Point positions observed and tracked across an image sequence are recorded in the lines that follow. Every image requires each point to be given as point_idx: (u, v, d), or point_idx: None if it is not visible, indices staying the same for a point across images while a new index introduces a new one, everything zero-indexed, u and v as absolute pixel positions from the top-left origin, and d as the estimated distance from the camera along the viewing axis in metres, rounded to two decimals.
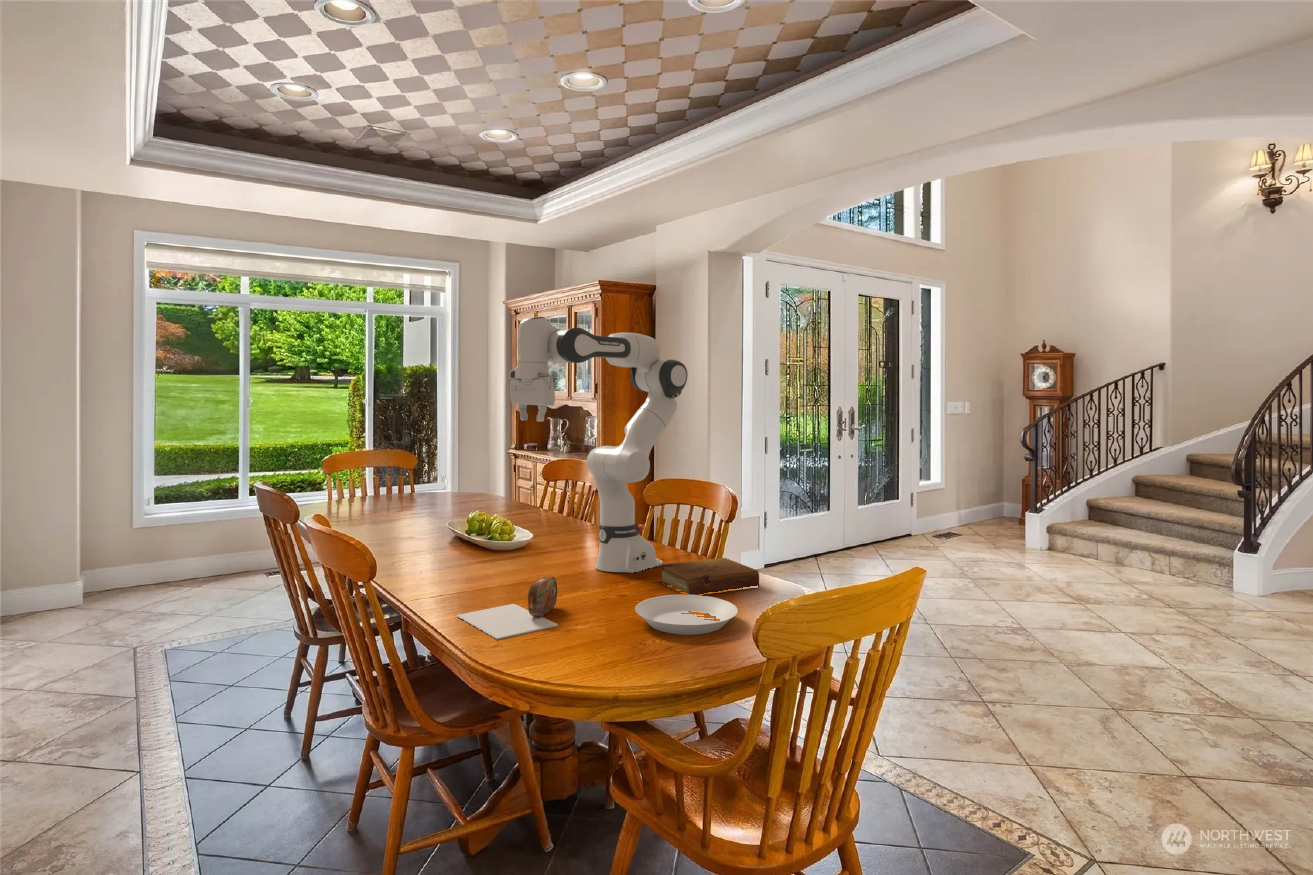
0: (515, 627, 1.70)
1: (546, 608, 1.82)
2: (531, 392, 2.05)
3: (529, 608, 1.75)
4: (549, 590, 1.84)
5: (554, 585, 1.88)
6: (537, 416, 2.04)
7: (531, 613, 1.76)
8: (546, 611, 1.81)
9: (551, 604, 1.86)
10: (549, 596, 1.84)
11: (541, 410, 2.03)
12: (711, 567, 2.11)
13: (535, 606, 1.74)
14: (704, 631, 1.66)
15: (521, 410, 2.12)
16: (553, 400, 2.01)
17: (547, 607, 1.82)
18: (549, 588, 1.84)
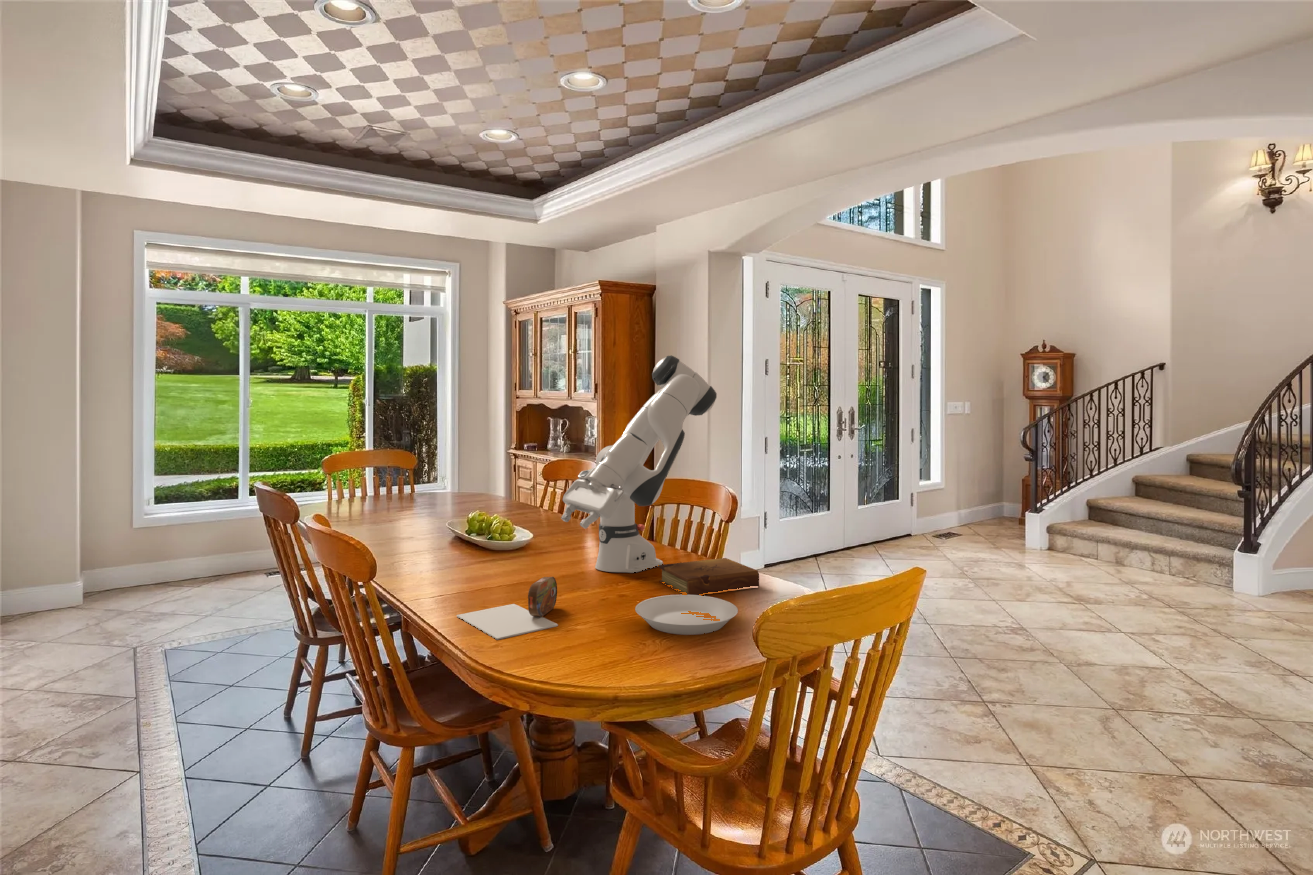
0: (515, 627, 1.70)
1: (546, 608, 1.82)
2: (593, 496, 1.87)
3: (529, 608, 1.75)
4: (549, 590, 1.84)
5: (554, 585, 1.88)
6: (583, 520, 1.84)
7: (531, 613, 1.76)
8: (546, 611, 1.81)
9: (551, 604, 1.86)
10: (549, 596, 1.84)
11: (592, 516, 1.83)
12: (711, 567, 2.11)
13: (535, 606, 1.74)
14: (704, 631, 1.66)
15: (567, 510, 1.92)
16: (610, 514, 1.82)
17: (547, 607, 1.82)
18: (549, 588, 1.84)
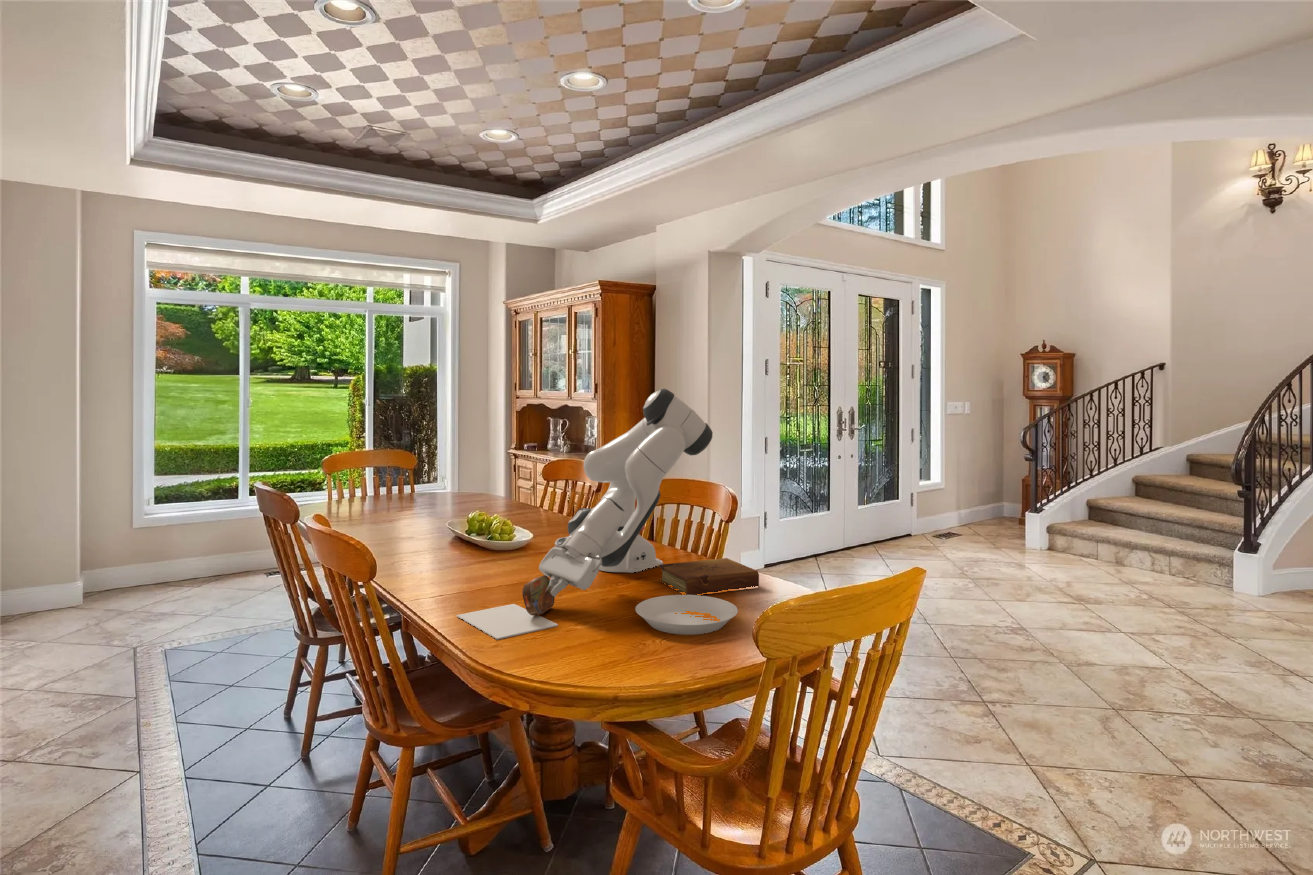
0: (515, 627, 1.70)
1: (545, 606, 1.82)
2: (570, 565, 1.83)
3: (526, 607, 1.75)
4: (544, 588, 1.85)
5: None
6: (552, 588, 1.82)
7: (530, 612, 1.76)
8: (545, 609, 1.81)
9: (550, 602, 1.86)
10: (545, 594, 1.84)
11: (560, 584, 1.82)
12: (711, 567, 2.11)
13: (532, 604, 1.75)
14: (704, 631, 1.66)
15: (552, 582, 1.84)
16: (588, 585, 1.78)
17: (545, 605, 1.82)
18: (544, 587, 1.85)
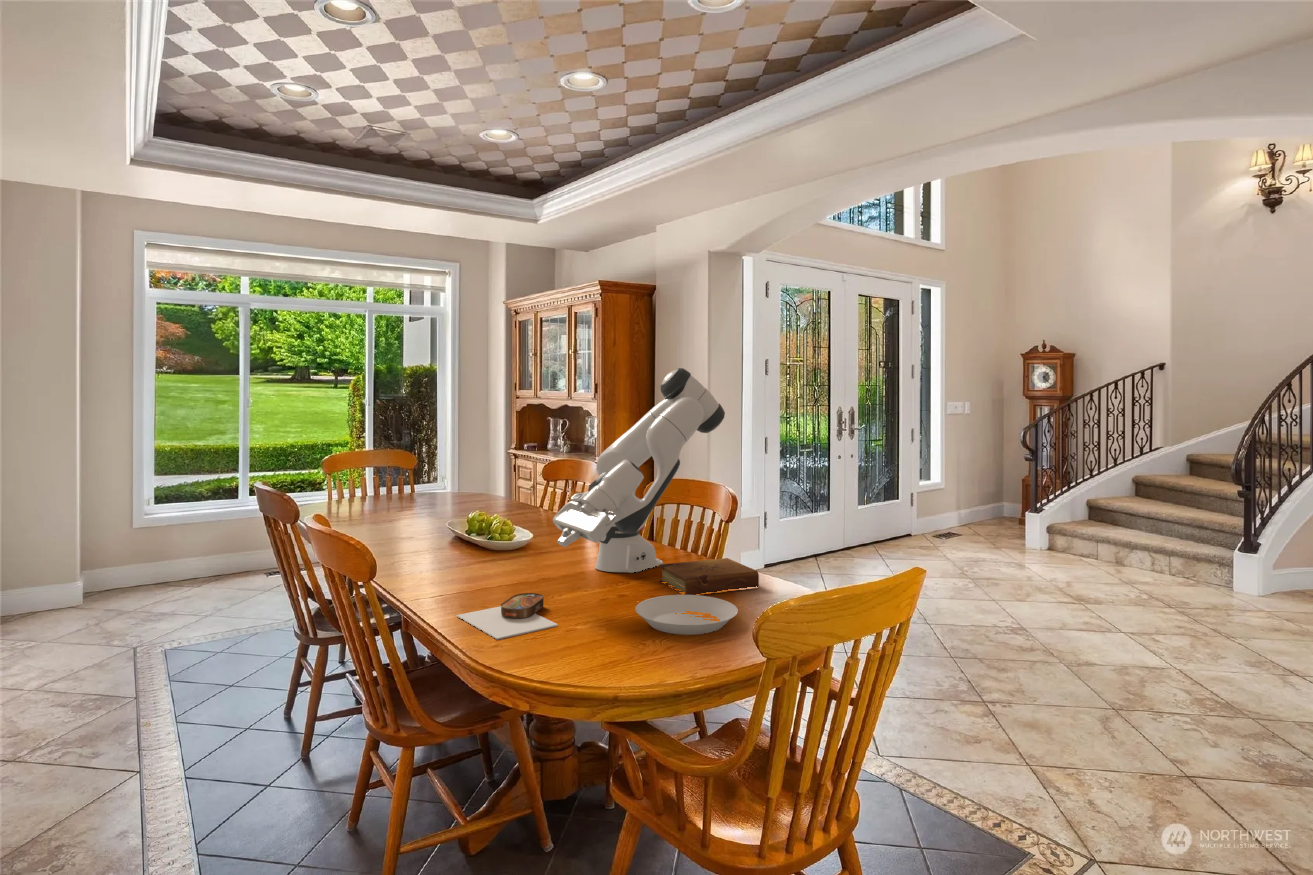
0: (515, 627, 1.70)
1: (535, 602, 1.83)
2: (584, 519, 1.85)
3: (516, 616, 1.76)
4: (523, 599, 1.86)
5: (527, 595, 1.89)
6: (564, 538, 1.85)
7: (523, 615, 1.76)
8: (536, 602, 1.82)
9: (539, 598, 1.86)
10: (527, 599, 1.85)
11: (573, 535, 1.84)
12: (711, 567, 2.11)
13: (514, 610, 1.76)
14: (704, 631, 1.66)
15: (564, 534, 1.87)
16: (600, 538, 1.80)
17: (535, 602, 1.83)
18: (521, 598, 1.86)
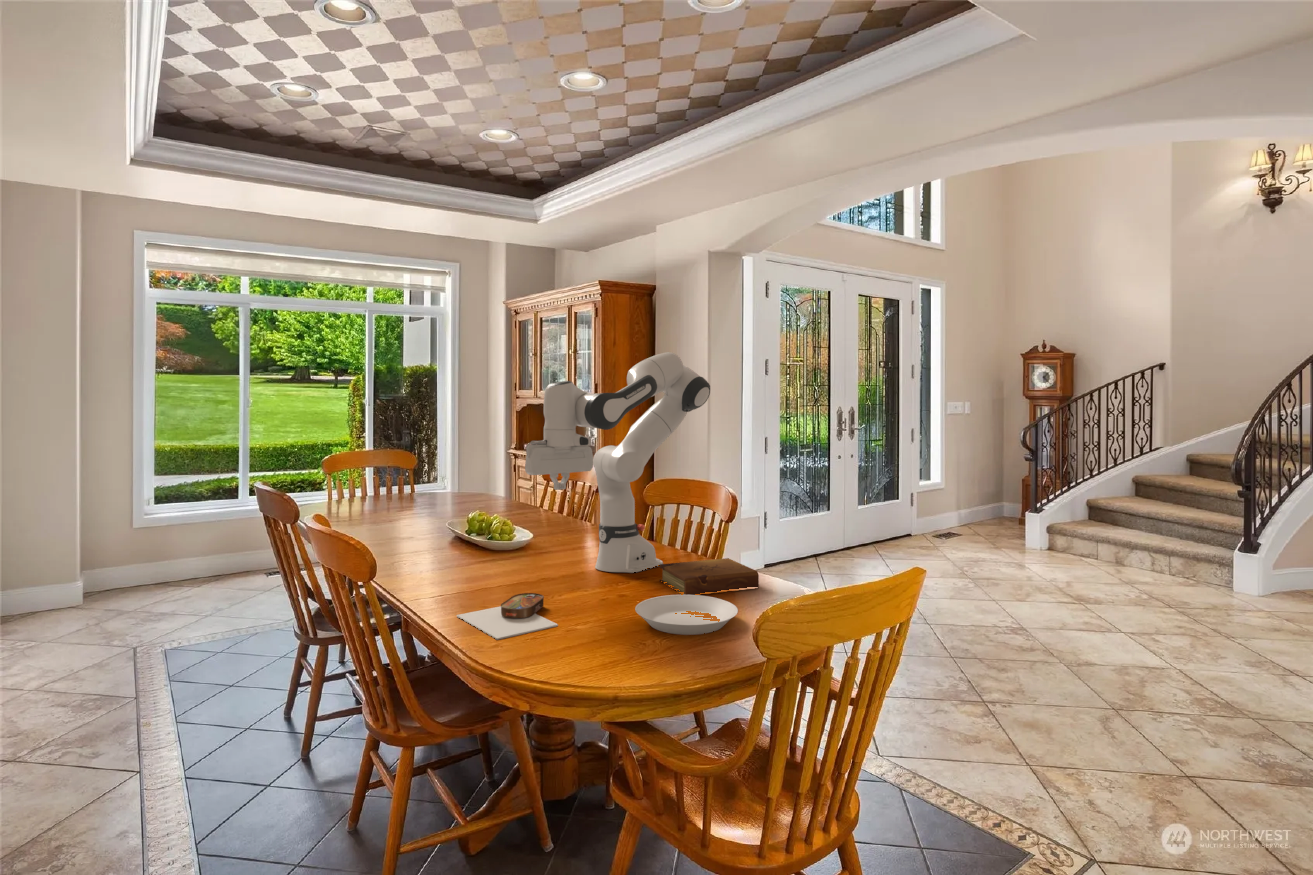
0: (515, 627, 1.70)
1: (535, 602, 1.83)
2: None
3: (516, 616, 1.76)
4: (523, 599, 1.86)
5: (527, 595, 1.89)
6: None
7: (523, 615, 1.76)
8: (536, 602, 1.82)
9: (539, 598, 1.86)
10: (527, 599, 1.85)
11: (551, 478, 1.99)
12: (711, 567, 2.11)
13: (514, 610, 1.76)
14: (704, 631, 1.66)
15: (563, 478, 2.01)
16: (529, 469, 1.93)
17: (535, 602, 1.83)
18: (521, 598, 1.86)
